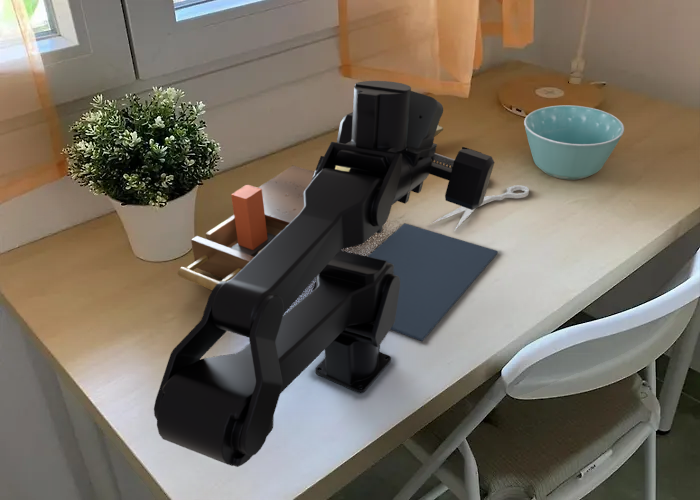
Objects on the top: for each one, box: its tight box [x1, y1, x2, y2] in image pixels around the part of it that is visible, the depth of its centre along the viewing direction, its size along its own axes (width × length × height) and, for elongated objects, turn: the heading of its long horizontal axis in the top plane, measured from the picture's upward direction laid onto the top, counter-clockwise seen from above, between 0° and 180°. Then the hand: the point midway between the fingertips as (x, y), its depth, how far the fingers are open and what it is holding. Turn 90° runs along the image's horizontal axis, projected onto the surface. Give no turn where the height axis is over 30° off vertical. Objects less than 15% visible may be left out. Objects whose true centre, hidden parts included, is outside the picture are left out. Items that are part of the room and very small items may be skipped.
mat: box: [367, 222, 499, 342], centre depth 94 cm, size 22×15×1 cm
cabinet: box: [232, 165, 315, 225], centre depth 104 cm, size 14×12×6 cm
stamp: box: [231, 184, 276, 257], centre depth 95 cm, size 6×4×10 cm, turn 147°
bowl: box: [523, 104, 625, 181], centre depth 117 cm, size 16×16×8 cm
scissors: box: [430, 182, 530, 232], centre depth 110 cm, size 11×1×20 cm
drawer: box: [177, 214, 287, 291], centre depth 96 cm, size 18×11×5 cm, turn 147°
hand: (435, 143), depth 90 cm, fingers open, 9 cm apart
